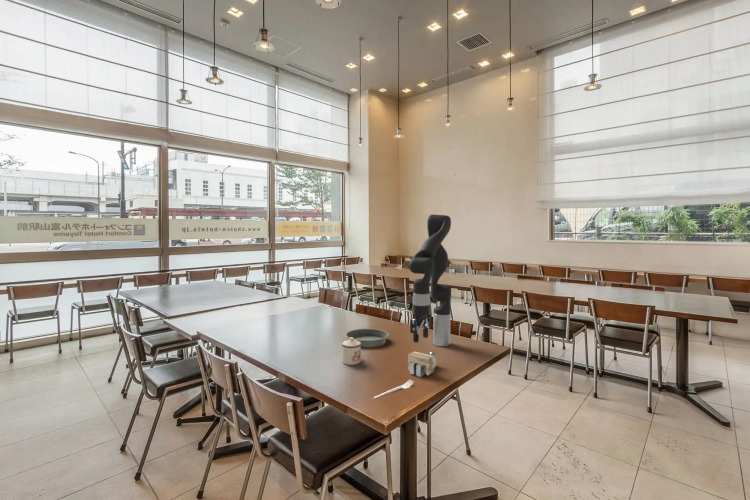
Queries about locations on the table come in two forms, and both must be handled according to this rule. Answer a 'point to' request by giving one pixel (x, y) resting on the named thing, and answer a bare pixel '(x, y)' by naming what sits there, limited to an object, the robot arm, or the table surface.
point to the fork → (397, 388)
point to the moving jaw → (413, 365)
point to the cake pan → (369, 337)
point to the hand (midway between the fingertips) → (420, 339)
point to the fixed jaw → (422, 369)
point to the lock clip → (422, 361)
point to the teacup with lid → (351, 352)
